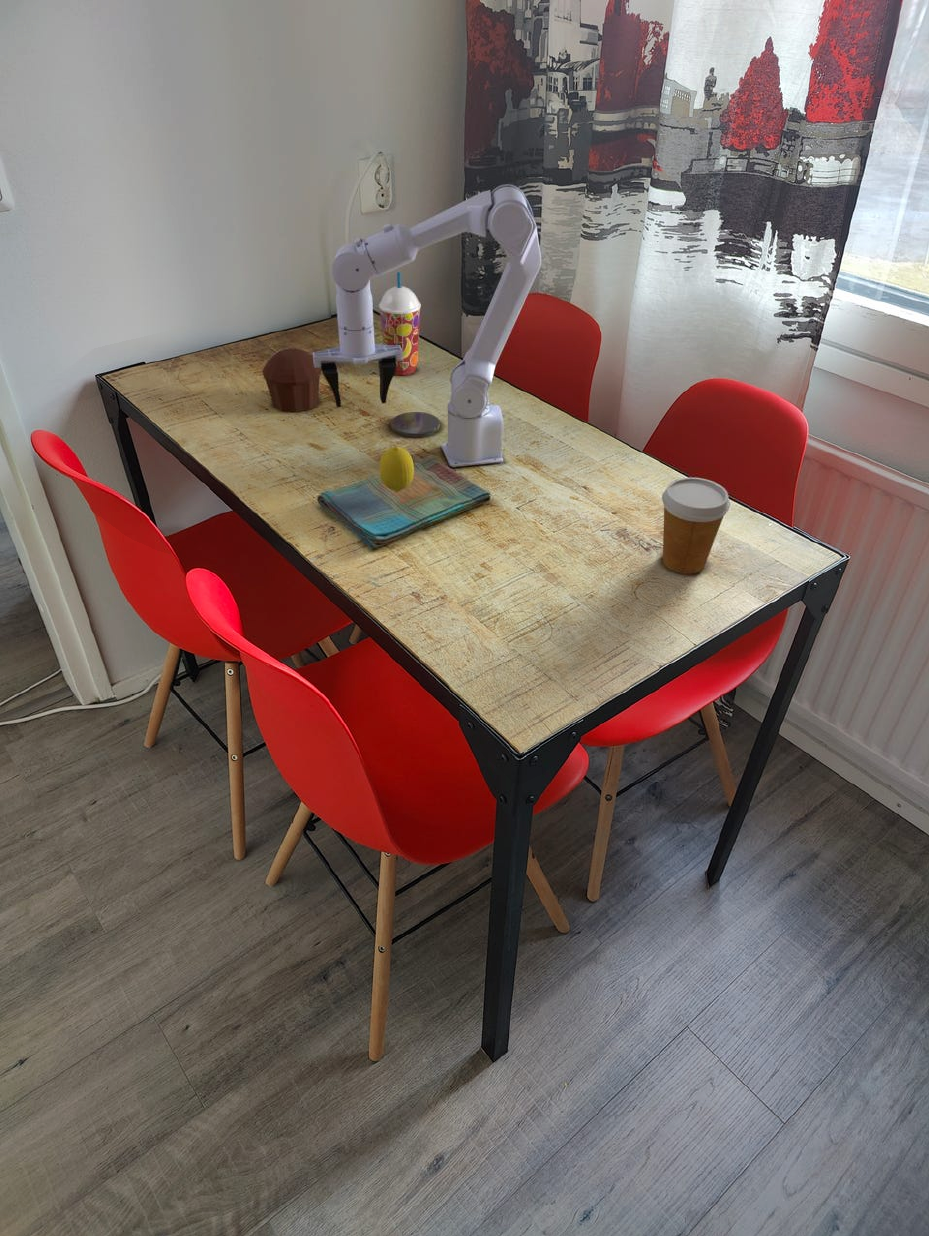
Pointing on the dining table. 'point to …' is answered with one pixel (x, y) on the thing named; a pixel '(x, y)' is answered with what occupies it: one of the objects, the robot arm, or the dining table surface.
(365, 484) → the dish towel
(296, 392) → the muffin
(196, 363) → the dining table surface
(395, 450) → the lemon
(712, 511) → the disposable coffee cup
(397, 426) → the slate coaster
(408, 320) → the smoothie
